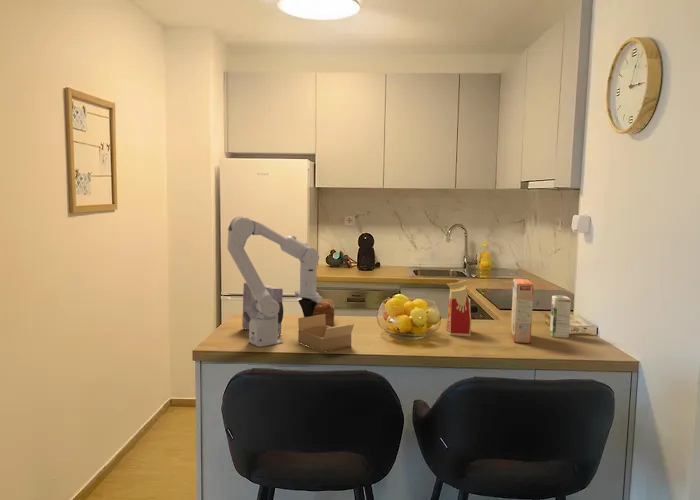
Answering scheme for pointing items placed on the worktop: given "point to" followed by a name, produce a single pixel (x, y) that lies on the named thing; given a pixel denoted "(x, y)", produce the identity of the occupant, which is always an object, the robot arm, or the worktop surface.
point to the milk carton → (458, 310)
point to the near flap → (338, 331)
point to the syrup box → (560, 316)
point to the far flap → (311, 322)
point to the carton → (316, 341)
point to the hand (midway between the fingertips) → (308, 319)
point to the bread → (325, 311)
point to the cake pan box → (250, 305)
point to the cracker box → (522, 310)
